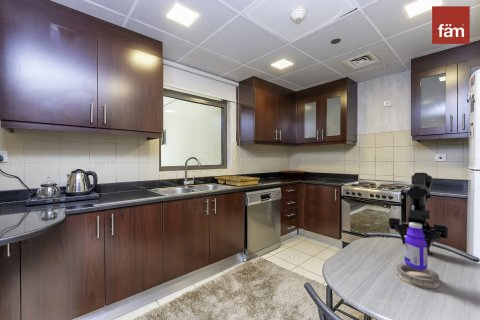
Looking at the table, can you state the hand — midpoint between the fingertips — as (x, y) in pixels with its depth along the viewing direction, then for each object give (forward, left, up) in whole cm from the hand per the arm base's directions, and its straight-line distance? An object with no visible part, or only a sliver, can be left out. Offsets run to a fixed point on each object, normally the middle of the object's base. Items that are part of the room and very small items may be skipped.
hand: (415, 246), depth 86 cm
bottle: (-1, +1, -9) cm, 9 cm away
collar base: (-1, +1, -13) cm, 13 cm away
